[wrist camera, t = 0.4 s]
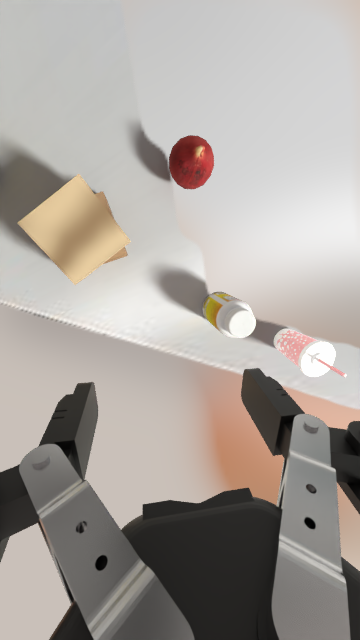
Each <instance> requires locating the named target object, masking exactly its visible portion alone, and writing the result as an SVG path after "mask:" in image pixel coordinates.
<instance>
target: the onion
mask: <svg viewBox="0 0 360 640" xmlns="http://www.w3.org/2000/svg"><path fill="white" fill-rule="evenodd" d="M213 166H214V156H213V152H212V149H211V147H210V145H209V144H208V143H207V141H206V140H204V139H203V138H200V137H199V136H187V137H184V138H181V139H180V140H179V141H178V142H177V143H176V144H175V145H174V146H173V148H172V151H171V154H170V157H169V169H170V172H171V175H172V178H173V179H174V180H175V181H176V183H177V184H178V185H180V186H181V187H183V188H184V189H196V188H198V187H200V186H202V185H204V183H205V182H206V181H207V179H208V178H209V177H210V176H211V173H212V170H213Z"/></svg>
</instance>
